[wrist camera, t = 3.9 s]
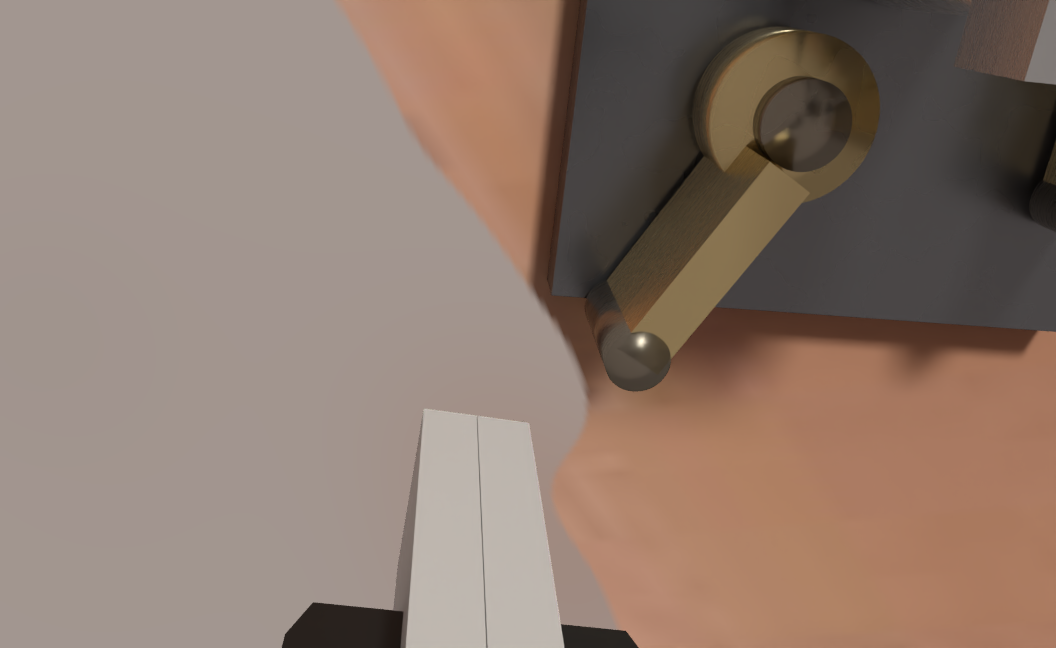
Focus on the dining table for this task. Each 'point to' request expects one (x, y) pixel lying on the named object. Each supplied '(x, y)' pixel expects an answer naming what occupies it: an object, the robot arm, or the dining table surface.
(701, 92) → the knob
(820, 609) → the dining table surface
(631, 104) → the plate
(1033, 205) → the brass lever handle
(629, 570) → the dining table surface
